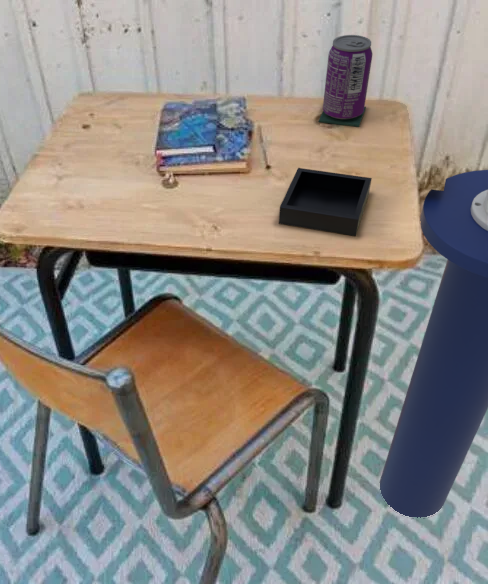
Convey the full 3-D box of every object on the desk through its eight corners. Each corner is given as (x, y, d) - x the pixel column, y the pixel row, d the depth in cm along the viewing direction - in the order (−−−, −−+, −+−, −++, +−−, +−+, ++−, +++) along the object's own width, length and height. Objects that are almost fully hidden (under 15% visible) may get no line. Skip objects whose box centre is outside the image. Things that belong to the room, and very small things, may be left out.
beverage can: (369, 108, 114) (380, 37, 106) (354, 126, 110) (365, 53, 102) (331, 101, 117) (339, 31, 108) (315, 117, 113) (323, 46, 104)
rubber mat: (365, 108, 115) (366, 106, 115) (358, 127, 111) (359, 124, 111) (326, 104, 117) (326, 102, 117) (318, 122, 113) (318, 120, 113)
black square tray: (368, 194, 97) (371, 177, 95) (355, 236, 90) (358, 219, 88) (296, 184, 100) (298, 167, 98) (278, 223, 93) (279, 207, 91)
